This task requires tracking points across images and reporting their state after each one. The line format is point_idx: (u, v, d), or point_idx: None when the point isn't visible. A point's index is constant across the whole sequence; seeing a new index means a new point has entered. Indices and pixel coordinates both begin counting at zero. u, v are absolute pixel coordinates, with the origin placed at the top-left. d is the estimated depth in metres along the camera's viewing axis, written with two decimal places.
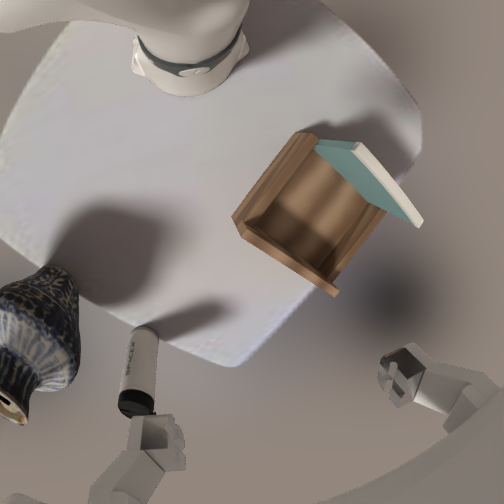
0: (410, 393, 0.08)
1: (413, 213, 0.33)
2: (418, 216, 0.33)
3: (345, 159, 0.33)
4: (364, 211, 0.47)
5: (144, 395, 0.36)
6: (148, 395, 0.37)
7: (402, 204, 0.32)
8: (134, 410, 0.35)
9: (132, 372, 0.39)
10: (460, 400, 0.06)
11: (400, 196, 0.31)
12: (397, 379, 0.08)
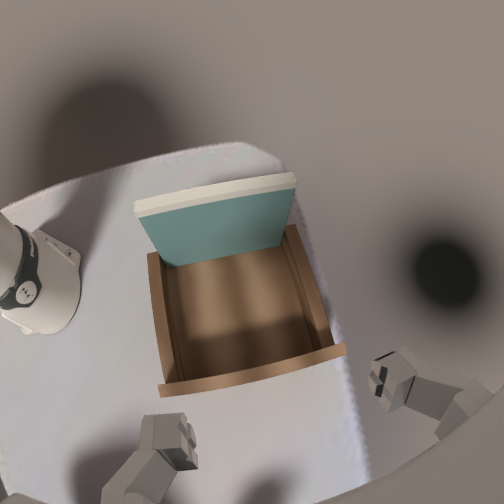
0: (401, 398, 0.08)
1: (268, 180, 0.26)
2: (279, 176, 0.27)
3: (171, 234, 0.30)
4: (285, 255, 0.38)
5: None
6: None
7: (242, 189, 0.26)
8: None
9: None
10: (451, 407, 0.06)
11: (229, 187, 0.26)
12: (387, 384, 0.08)
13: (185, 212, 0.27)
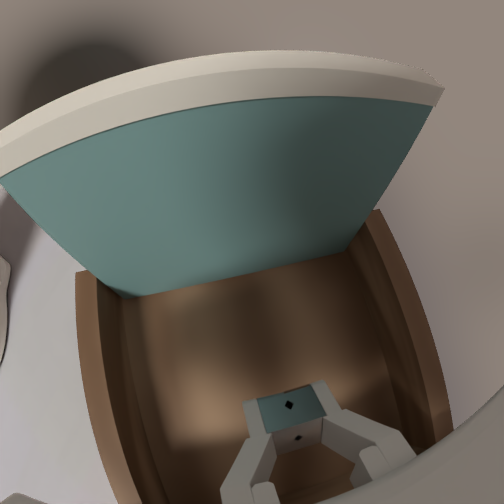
0: (311, 437, 0.07)
1: (383, 67, 0.07)
2: (402, 67, 0.07)
3: (102, 227, 0.10)
4: (357, 271, 0.19)
5: None
6: None
7: (317, 66, 0.06)
8: None
9: None
10: (358, 461, 0.05)
11: (274, 59, 0.06)
12: None
13: (121, 150, 0.07)
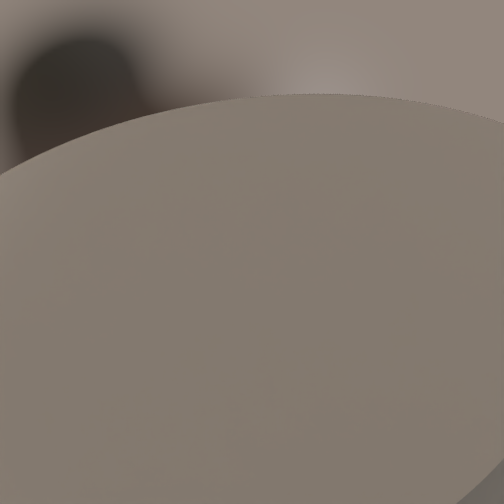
0: None
1: None
2: None
3: None
4: None
5: None
6: None
7: None
8: None
9: None
10: None
11: None
12: None
13: None
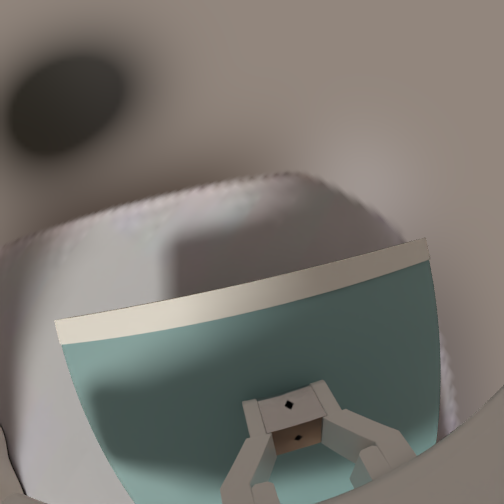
0: (311, 436, 0.07)
1: (371, 252, 0.11)
2: None
3: (148, 440, 0.08)
4: None
5: None
6: None
7: None
8: None
9: None
10: (358, 461, 0.05)
11: (286, 273, 0.10)
12: None
13: (173, 354, 0.09)
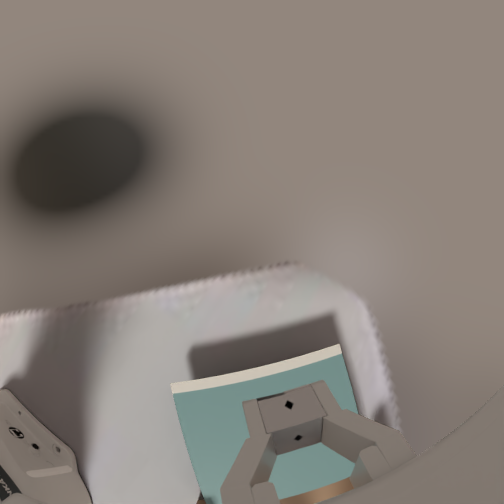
0: (311, 437, 0.07)
1: None
2: None
3: (211, 435, 0.20)
4: None
5: None
6: None
7: None
8: None
9: None
10: (358, 461, 0.05)
11: None
12: None
13: (225, 395, 0.22)
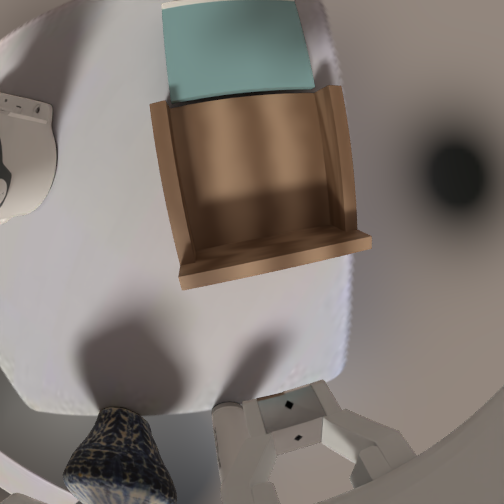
0: (311, 437, 0.07)
1: None
2: None
3: (186, 32, 0.22)
4: (319, 113, 0.28)
5: None
6: None
7: None
8: None
9: (222, 464, 0.31)
10: (358, 461, 0.05)
11: None
12: None
13: (203, 8, 0.21)
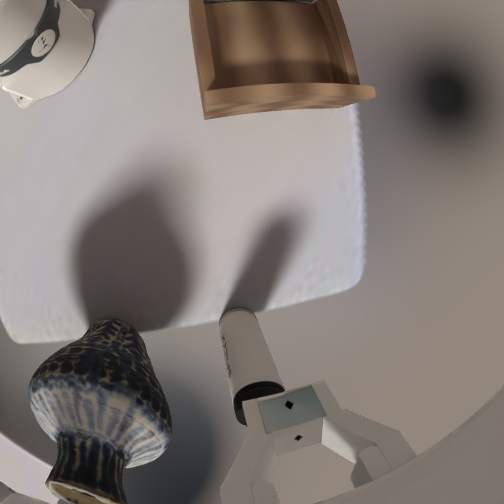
0: (311, 437, 0.07)
1: None
2: None
3: None
4: (319, 15, 0.27)
5: (260, 387, 0.26)
6: (267, 382, 0.27)
7: None
8: None
9: (233, 369, 0.30)
10: (358, 461, 0.05)
11: None
12: None
13: None
